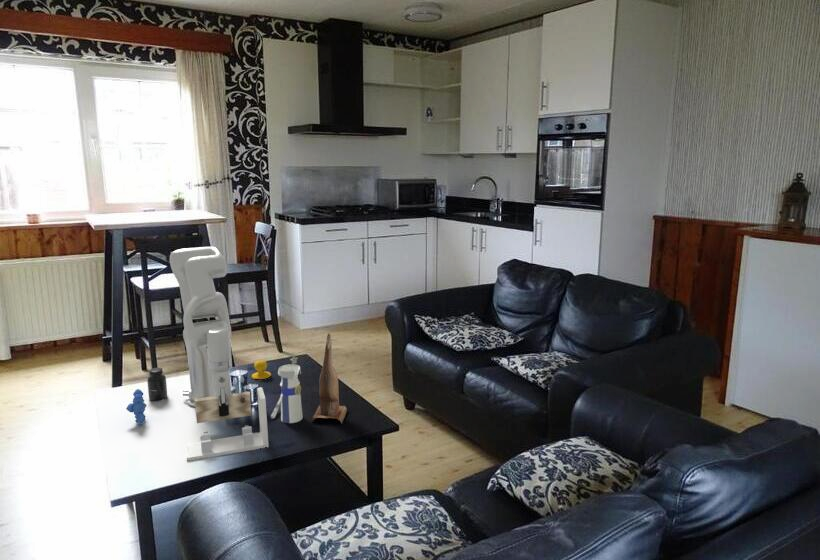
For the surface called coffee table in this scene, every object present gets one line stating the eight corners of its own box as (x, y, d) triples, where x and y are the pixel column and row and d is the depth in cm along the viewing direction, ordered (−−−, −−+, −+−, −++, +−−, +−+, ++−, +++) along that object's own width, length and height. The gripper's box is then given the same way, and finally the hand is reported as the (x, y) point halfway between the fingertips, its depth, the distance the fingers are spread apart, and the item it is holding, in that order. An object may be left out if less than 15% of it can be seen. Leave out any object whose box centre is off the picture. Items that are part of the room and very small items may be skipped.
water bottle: (308, 415, 215) (305, 350, 210) (295, 425, 207) (291, 357, 202) (290, 411, 218) (286, 347, 213) (276, 421, 211) (271, 354, 206)
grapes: (128, 417, 215) (124, 386, 213) (148, 414, 218) (145, 383, 215) (127, 430, 205) (123, 398, 202) (148, 427, 207) (145, 395, 205)
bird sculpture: (311, 425, 208) (307, 339, 201) (317, 410, 219) (313, 328, 212) (342, 425, 208) (339, 339, 200) (347, 410, 219) (344, 328, 212)
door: (196, 424, 199) (194, 402, 197) (196, 420, 202) (194, 398, 200) (251, 416, 205) (250, 395, 203) (250, 412, 208) (249, 391, 206)
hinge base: (187, 461, 183) (182, 410, 180) (187, 446, 192) (182, 398, 189) (268, 447, 191) (265, 398, 188) (265, 434, 201) (262, 387, 197)
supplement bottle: (149, 402, 228) (146, 373, 226) (148, 396, 234) (145, 368, 232) (168, 399, 231) (165, 370, 229) (166, 393, 237) (164, 365, 235)
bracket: (295, 389, 234) (291, 372, 228) (281, 433, 218) (276, 416, 212) (288, 389, 235) (283, 372, 229) (273, 433, 218) (267, 415, 212)
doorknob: (266, 380, 250) (248, 379, 251) (273, 374, 258) (256, 373, 259) (265, 364, 248) (247, 363, 250) (272, 358, 256) (255, 357, 258)
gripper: (233, 370, 193) (236, 422, 197) (230, 354, 208) (233, 402, 212) (209, 373, 191) (213, 425, 195) (208, 357, 205) (211, 405, 210)
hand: (224, 413), depth 203 cm, fingers closed on door, 2 cm apart
